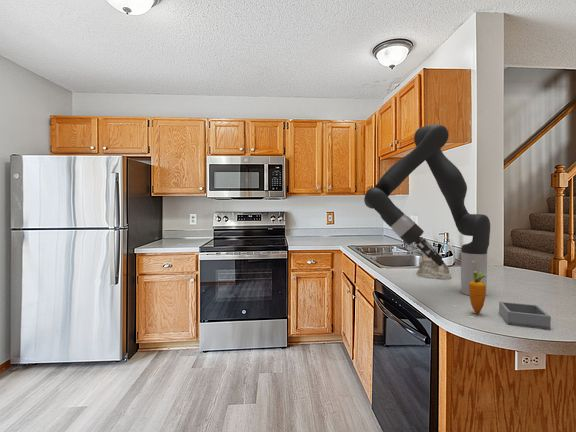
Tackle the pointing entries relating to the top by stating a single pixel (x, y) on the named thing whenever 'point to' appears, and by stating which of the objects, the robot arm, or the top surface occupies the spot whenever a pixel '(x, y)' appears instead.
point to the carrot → (477, 292)
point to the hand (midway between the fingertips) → (441, 262)
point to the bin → (524, 315)
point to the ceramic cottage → (432, 269)
